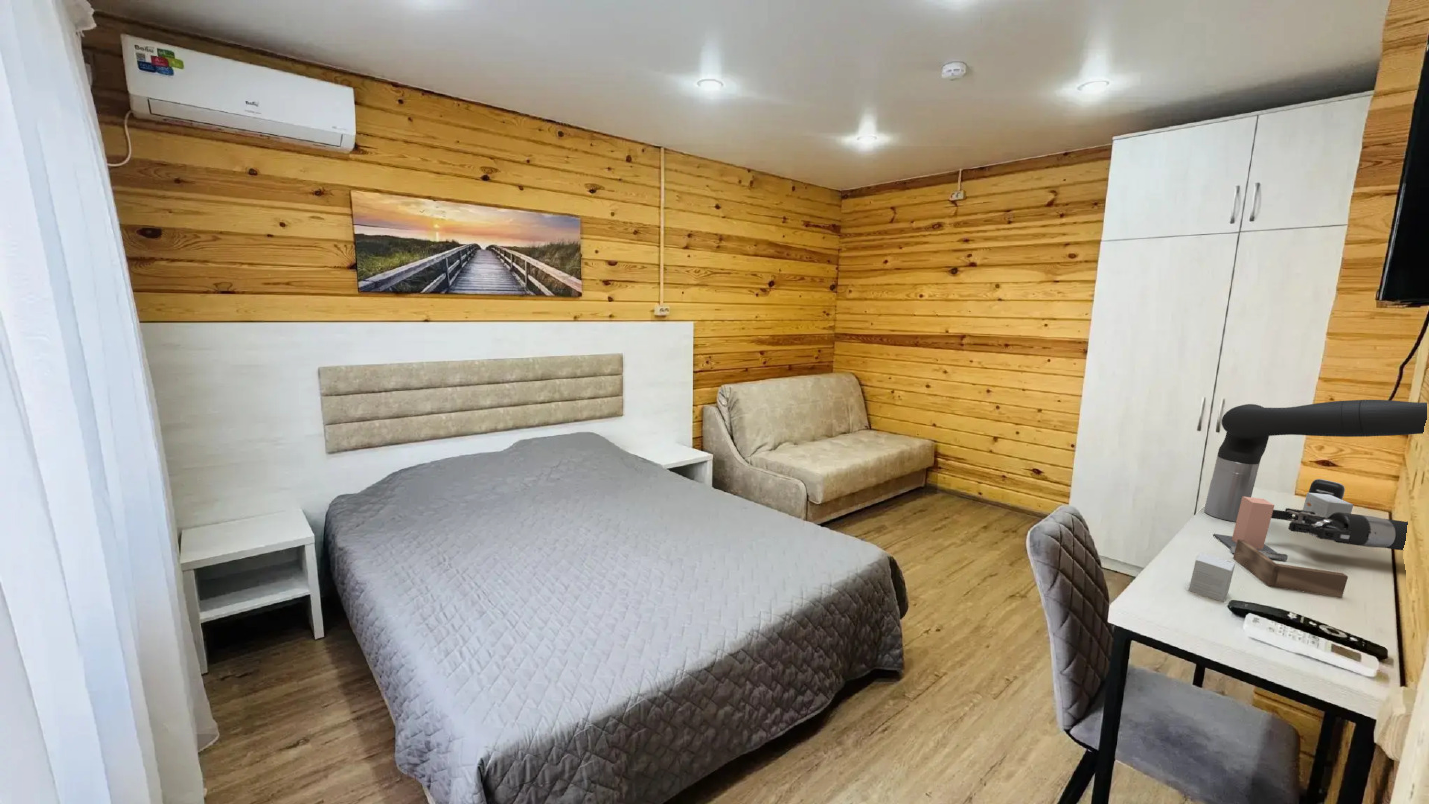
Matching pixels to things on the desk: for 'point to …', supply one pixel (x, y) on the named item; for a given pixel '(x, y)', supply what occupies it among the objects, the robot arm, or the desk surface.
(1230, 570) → the product box
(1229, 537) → the mat
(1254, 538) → the tall pink rectangular block
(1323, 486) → the battery charger
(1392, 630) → the desk surface
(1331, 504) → the small box
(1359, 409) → the robot arm
